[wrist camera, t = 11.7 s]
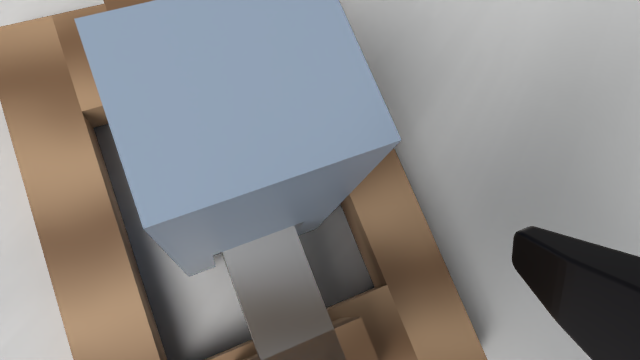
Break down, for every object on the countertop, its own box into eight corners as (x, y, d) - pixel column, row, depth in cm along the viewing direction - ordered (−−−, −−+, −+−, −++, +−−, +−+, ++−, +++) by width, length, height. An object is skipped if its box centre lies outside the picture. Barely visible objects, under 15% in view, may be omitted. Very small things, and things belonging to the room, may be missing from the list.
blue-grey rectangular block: (277, 132, 24) (321, -38, 13) (316, 228, 23) (401, 139, 12) (153, 171, 22) (74, 18, 11) (188, 276, 21) (143, 228, 10)
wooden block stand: (469, 363, 24) (536, 375, 19) (136, 526, 20) (103, 600, 15) (304, -18, 28) (321, -95, 23) (0, 53, 24) (-64, -20, 19)
